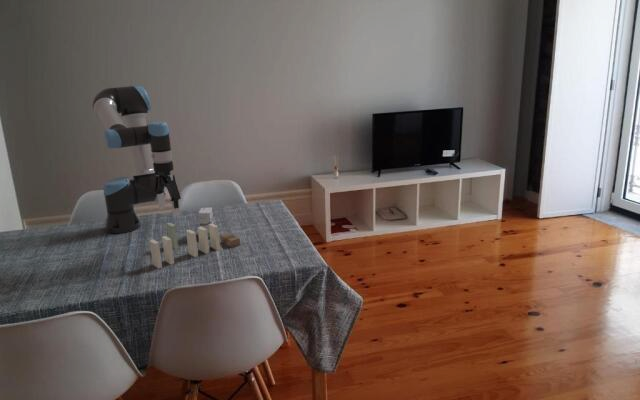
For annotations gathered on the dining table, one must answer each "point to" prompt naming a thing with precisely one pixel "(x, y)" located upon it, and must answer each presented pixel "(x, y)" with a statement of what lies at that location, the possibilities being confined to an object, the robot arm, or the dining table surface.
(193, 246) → the domino
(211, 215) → the ink box
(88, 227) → the dining table surface
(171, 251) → the domino
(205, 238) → the domino
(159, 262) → the domino
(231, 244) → the end block
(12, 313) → the dining table surface
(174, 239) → the domino
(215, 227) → the domino
